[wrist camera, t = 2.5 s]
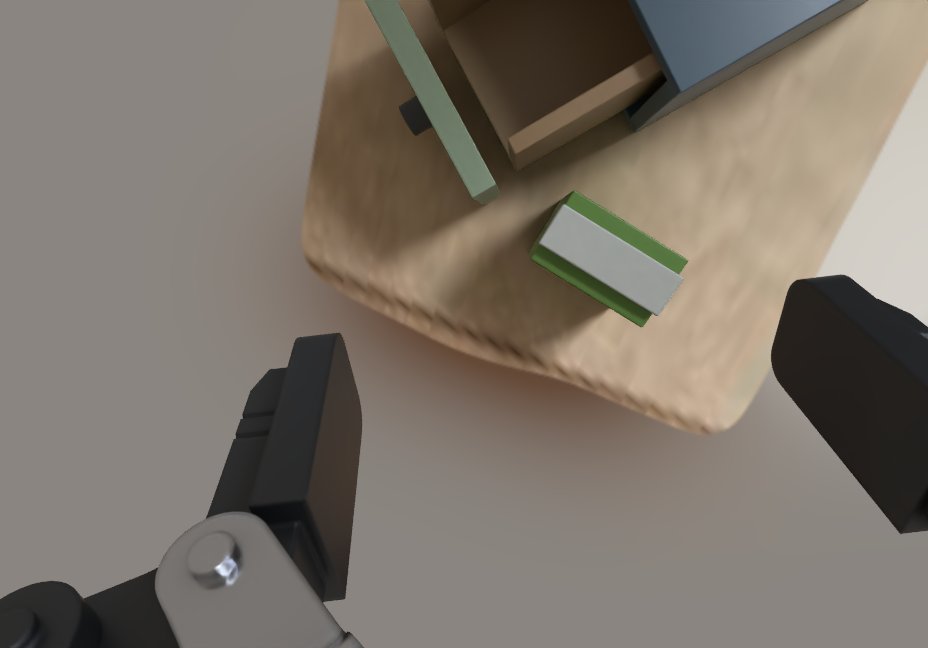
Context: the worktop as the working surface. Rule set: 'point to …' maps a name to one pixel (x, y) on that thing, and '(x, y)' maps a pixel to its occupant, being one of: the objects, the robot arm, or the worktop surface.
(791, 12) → the cabinet
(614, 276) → the green white block
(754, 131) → the worktop surface
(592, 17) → the drawer
